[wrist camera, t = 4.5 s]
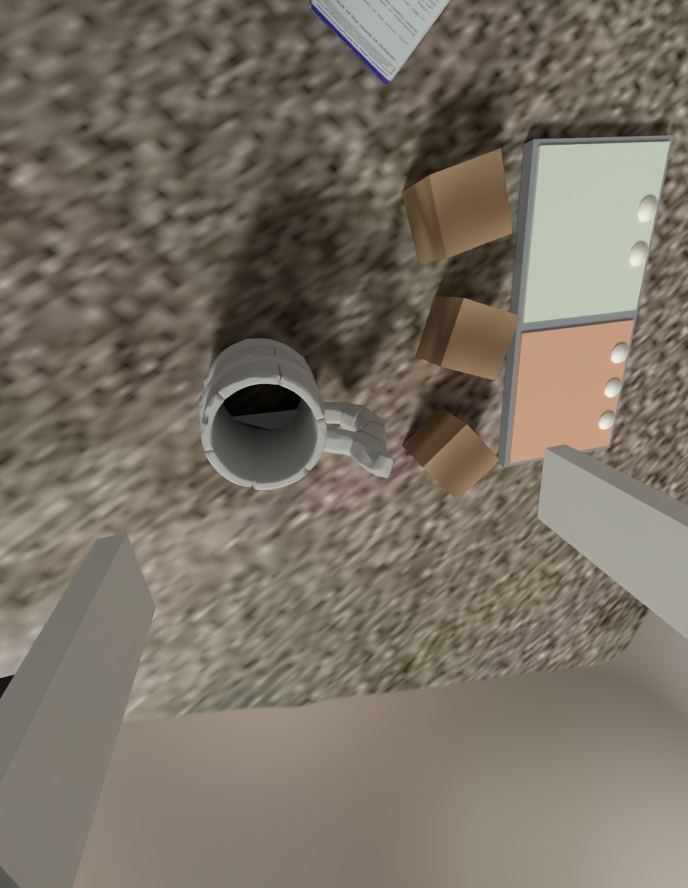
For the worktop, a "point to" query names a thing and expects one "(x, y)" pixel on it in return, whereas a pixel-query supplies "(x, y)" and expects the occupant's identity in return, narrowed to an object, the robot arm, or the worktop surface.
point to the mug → (281, 421)
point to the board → (577, 288)
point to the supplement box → (380, 28)
